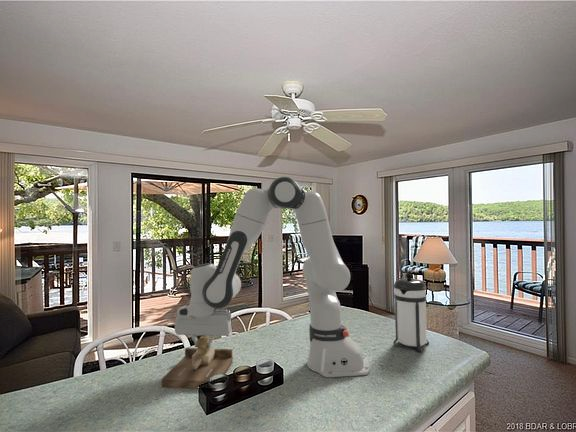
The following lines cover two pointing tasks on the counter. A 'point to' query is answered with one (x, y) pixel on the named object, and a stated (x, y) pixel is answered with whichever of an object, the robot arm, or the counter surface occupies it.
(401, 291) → the coffee press
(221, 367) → the walnut board
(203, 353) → the marking slider
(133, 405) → the counter surface
